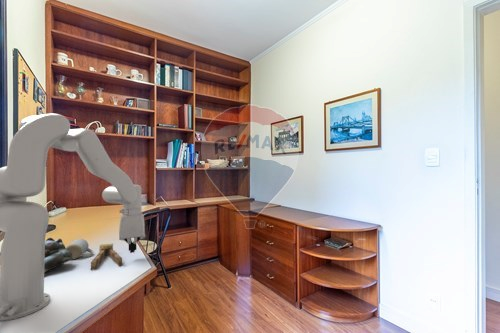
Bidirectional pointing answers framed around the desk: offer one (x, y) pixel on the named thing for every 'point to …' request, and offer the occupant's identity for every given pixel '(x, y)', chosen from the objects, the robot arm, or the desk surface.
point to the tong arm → (115, 257)
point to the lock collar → (105, 246)
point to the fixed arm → (98, 259)
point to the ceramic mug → (79, 248)
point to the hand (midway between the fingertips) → (132, 251)
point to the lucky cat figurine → (55, 254)
